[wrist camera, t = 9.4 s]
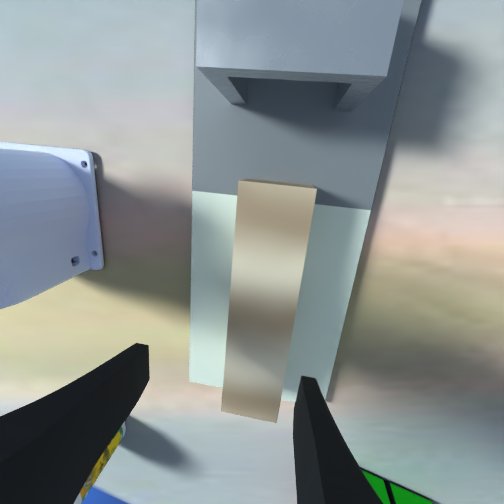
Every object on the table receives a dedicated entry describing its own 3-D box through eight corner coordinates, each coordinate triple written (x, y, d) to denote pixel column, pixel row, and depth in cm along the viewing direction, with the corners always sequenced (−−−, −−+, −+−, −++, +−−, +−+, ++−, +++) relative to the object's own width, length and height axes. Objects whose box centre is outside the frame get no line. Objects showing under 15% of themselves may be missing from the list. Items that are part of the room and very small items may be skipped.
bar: (279, 378, 21) (276, 423, 18) (233, 369, 22) (221, 411, 18) (311, 184, 16) (317, 188, 13) (250, 178, 17) (238, 180, 13)
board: (322, 398, 23) (323, 408, 22) (193, 373, 24) (189, 381, 23) (448, -140, 12) (461, -167, 11) (204, -131, 13) (197, -153, 12)
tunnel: (350, 112, 15) (386, 76, 9) (230, 103, 16) (196, 66, 10) (371, 4, 13) (429, -118, 8) (236, 2, 14) (199, -111, 8)
